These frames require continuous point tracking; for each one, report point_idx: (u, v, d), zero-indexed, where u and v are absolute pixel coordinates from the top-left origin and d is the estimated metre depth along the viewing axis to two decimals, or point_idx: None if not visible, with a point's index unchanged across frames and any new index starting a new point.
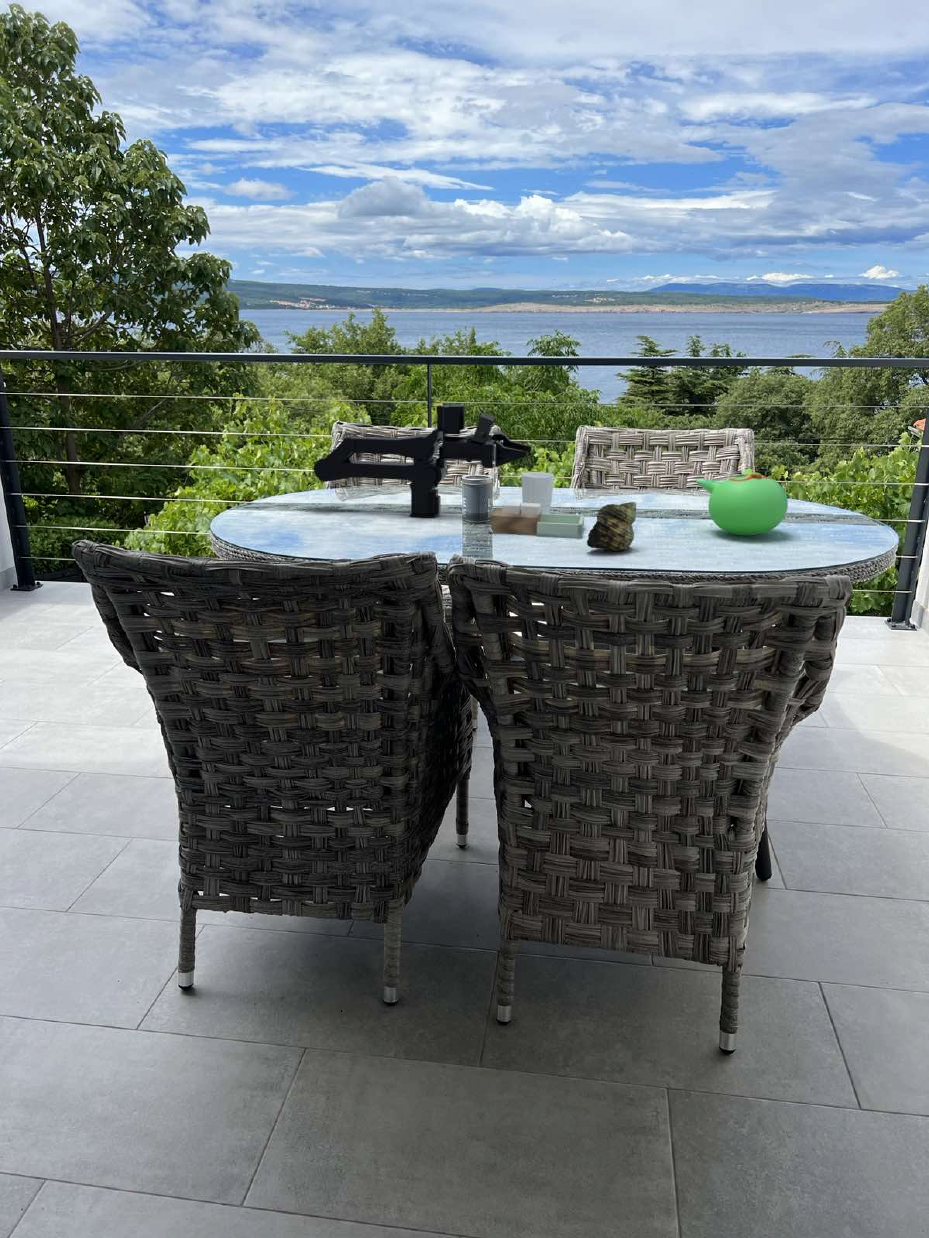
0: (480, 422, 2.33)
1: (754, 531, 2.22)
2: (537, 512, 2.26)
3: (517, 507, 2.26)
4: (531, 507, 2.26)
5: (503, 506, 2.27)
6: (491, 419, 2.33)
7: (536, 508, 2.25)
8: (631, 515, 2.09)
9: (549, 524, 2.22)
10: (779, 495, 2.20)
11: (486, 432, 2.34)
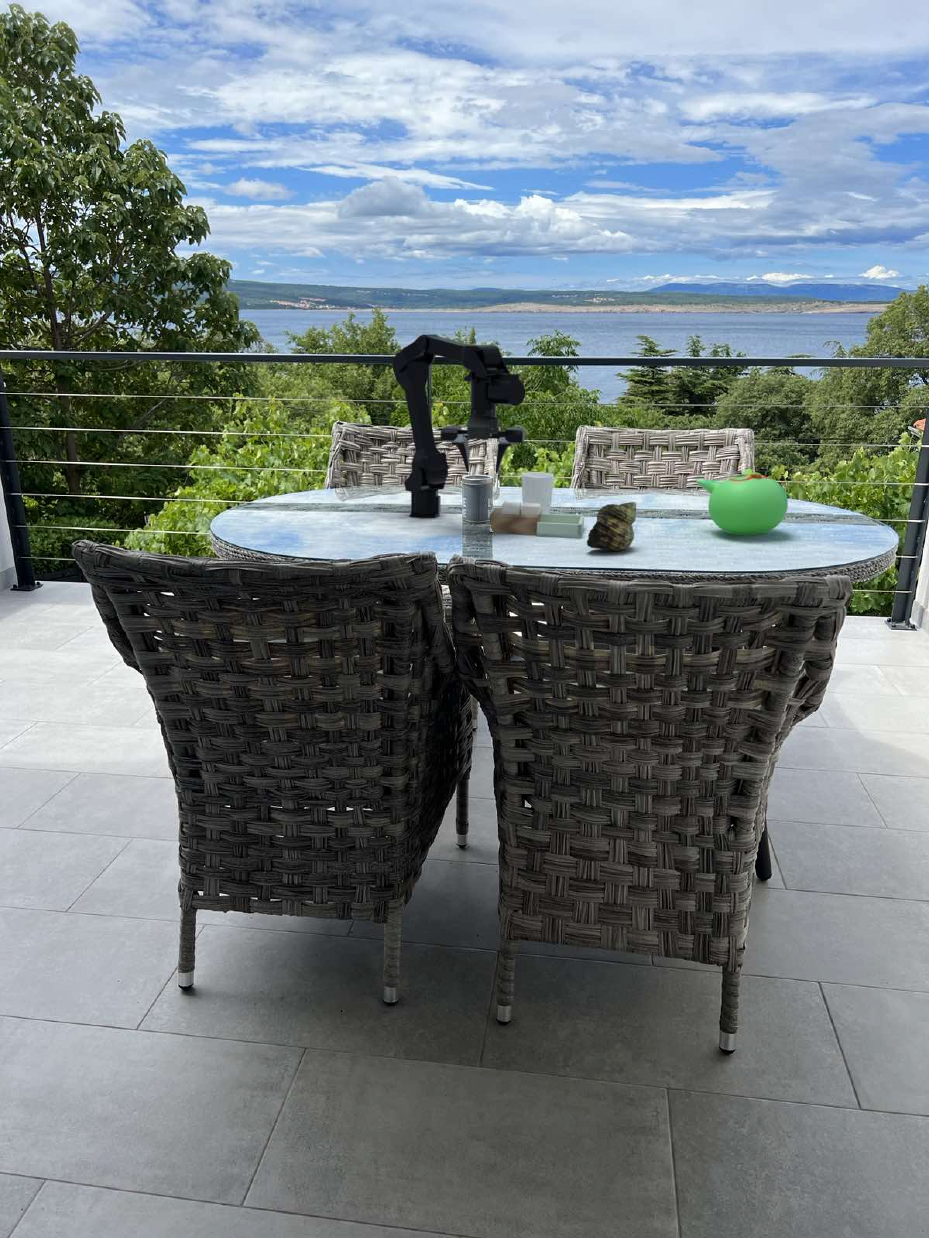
0: None
1: (754, 531, 2.22)
2: (537, 512, 2.26)
3: (517, 507, 2.26)
4: (531, 507, 2.26)
5: (503, 506, 2.27)
6: (468, 436, 2.18)
7: (536, 508, 2.25)
8: (631, 515, 2.09)
9: (549, 524, 2.22)
10: (779, 495, 2.20)
11: None
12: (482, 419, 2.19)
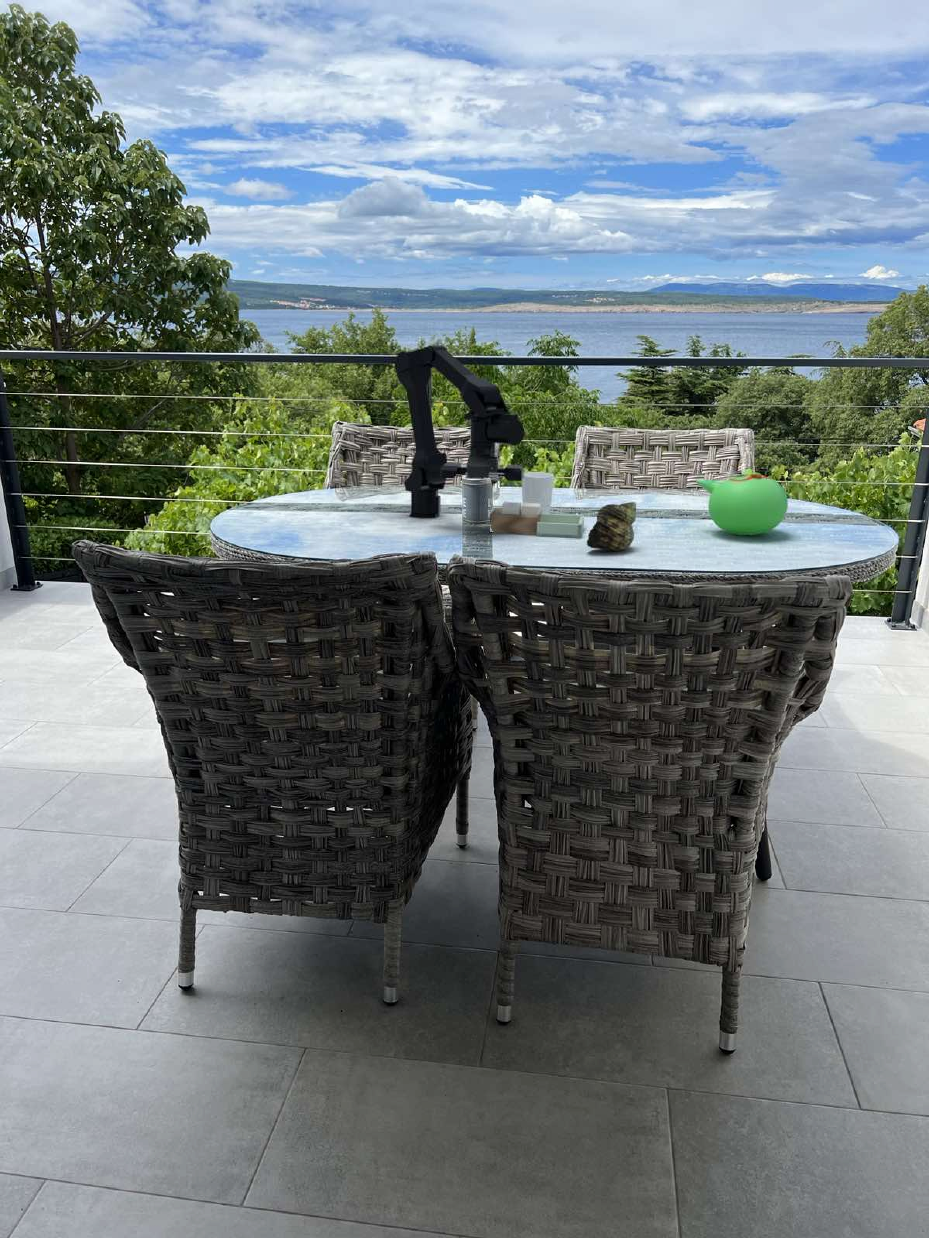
0: (467, 463, 2.20)
1: (754, 531, 2.22)
2: (537, 512, 2.26)
3: (517, 507, 2.26)
4: (531, 507, 2.26)
5: (503, 506, 2.27)
6: (468, 475, 2.20)
7: (536, 508, 2.25)
8: (631, 515, 2.09)
9: (549, 524, 2.22)
10: (779, 495, 2.20)
11: None
12: (481, 458, 2.21)
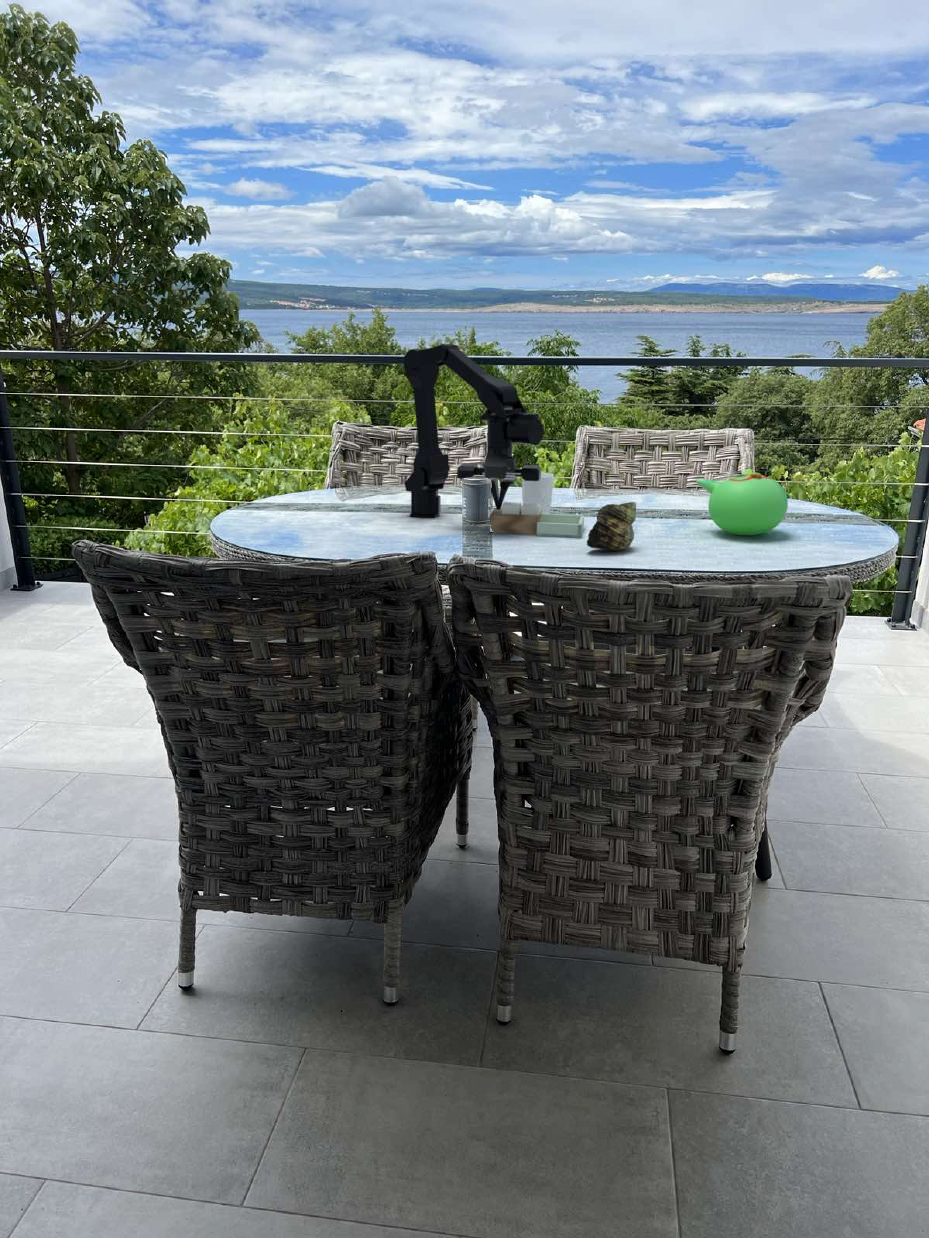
0: None
1: (754, 531, 2.22)
2: (537, 512, 2.26)
3: (517, 507, 2.26)
4: (531, 507, 2.26)
5: (503, 506, 2.27)
6: (485, 475, 2.20)
7: (536, 508, 2.25)
8: (631, 515, 2.09)
9: (549, 524, 2.22)
10: (779, 495, 2.20)
11: None
12: (499, 458, 2.20)
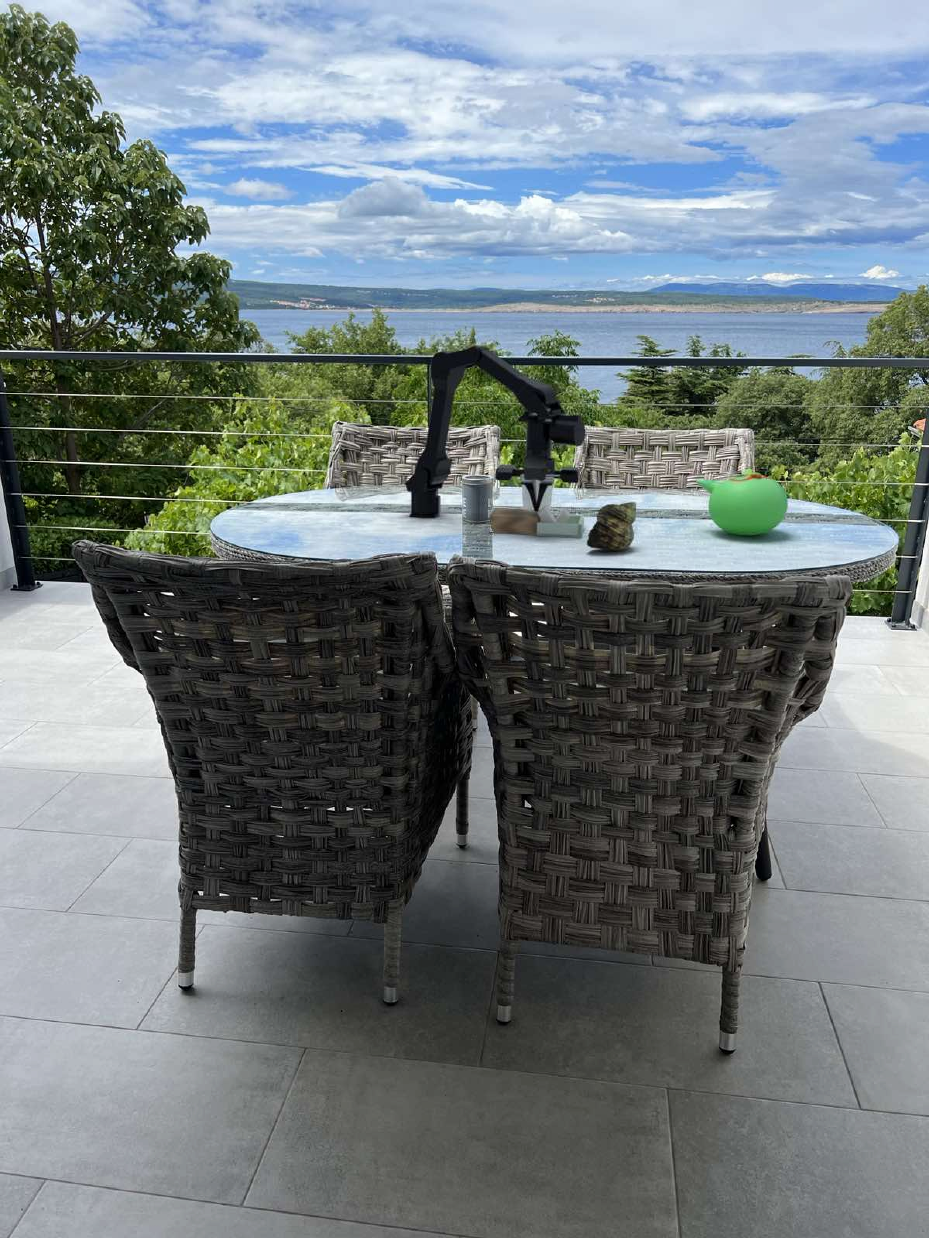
0: (524, 465, 2.18)
1: (754, 531, 2.22)
2: None
3: (552, 522, 2.26)
4: None
5: (544, 510, 2.25)
6: (525, 477, 2.18)
7: None
8: (631, 515, 2.09)
9: (549, 524, 2.22)
10: (779, 495, 2.20)
11: None
12: (538, 459, 2.19)
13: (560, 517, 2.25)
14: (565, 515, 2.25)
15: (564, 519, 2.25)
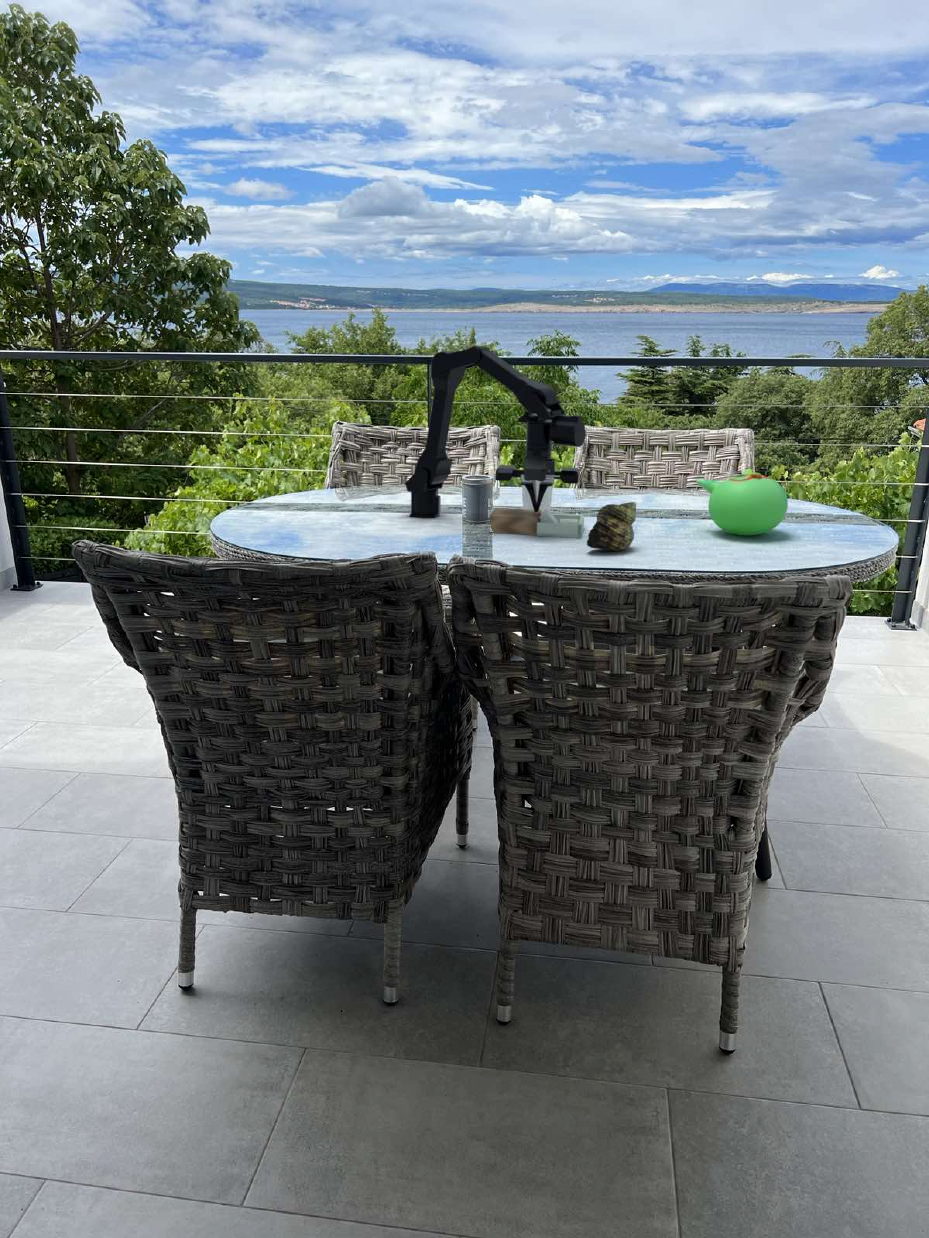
0: (524, 465, 2.18)
1: (754, 531, 2.22)
2: None
3: None
4: None
5: (545, 513, 2.26)
6: (525, 478, 2.18)
7: None
8: (631, 515, 2.09)
9: (549, 524, 2.22)
10: (779, 495, 2.20)
11: None
12: (538, 460, 2.19)
13: None
14: None
15: None
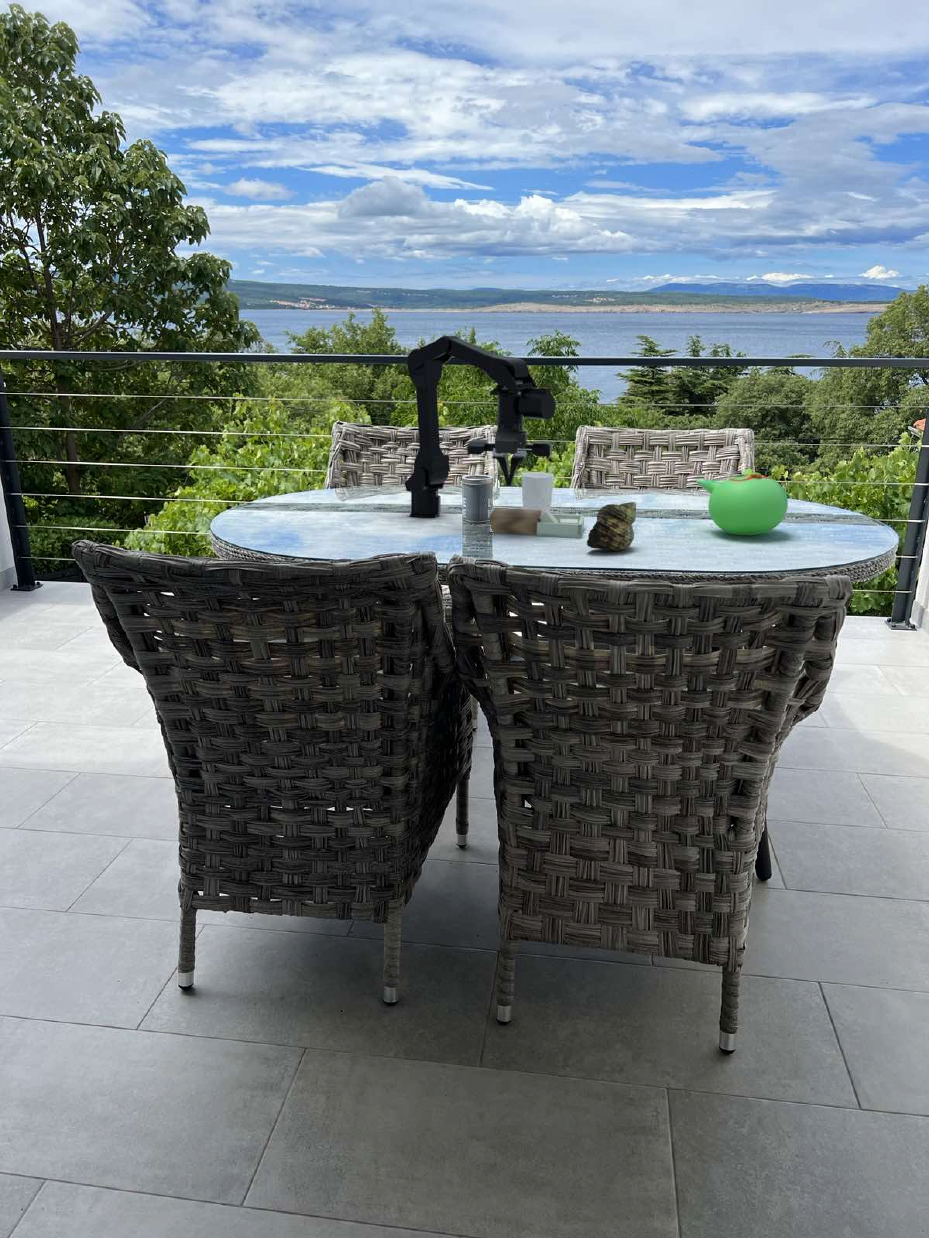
0: (495, 438, 2.17)
1: (754, 531, 2.22)
2: None
3: None
4: None
5: (545, 513, 2.26)
6: (496, 450, 2.17)
7: None
8: (631, 515, 2.09)
9: (549, 524, 2.22)
10: (779, 495, 2.20)
11: None
12: (510, 433, 2.18)
13: None
14: None
15: None
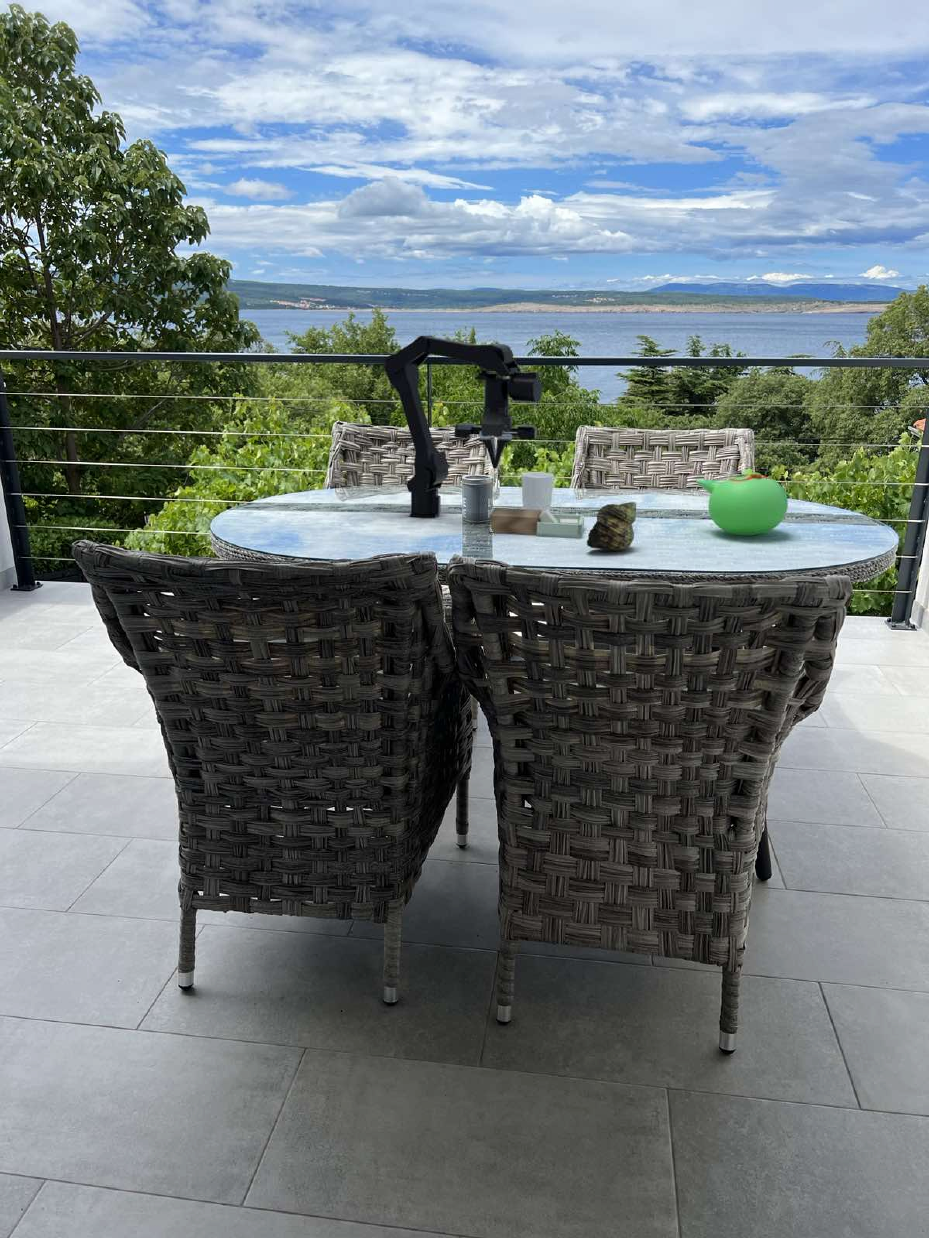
0: None
1: (754, 531, 2.22)
2: None
3: None
4: None
5: (545, 513, 2.26)
6: (482, 433, 2.24)
7: None
8: (631, 515, 2.09)
9: (549, 524, 2.22)
10: (779, 495, 2.20)
11: None
12: (495, 416, 2.25)
13: None
14: None
15: None
